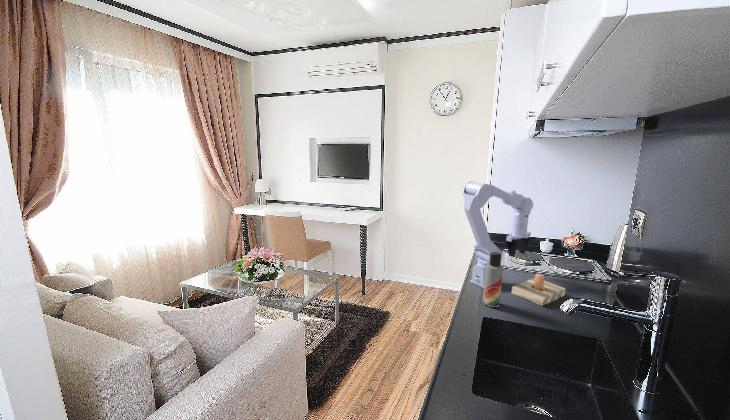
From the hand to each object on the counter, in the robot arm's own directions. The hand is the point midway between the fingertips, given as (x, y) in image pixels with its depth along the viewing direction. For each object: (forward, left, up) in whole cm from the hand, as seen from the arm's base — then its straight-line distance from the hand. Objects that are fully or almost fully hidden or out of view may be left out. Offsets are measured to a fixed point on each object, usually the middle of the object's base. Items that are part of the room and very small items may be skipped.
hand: (516, 254), depth 137 cm
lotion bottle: (-30, -10, -11) cm, 33 cm away
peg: (-8, -15, -10) cm, 20 cm away
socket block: (-8, -15, -10) cm, 20 cm away
